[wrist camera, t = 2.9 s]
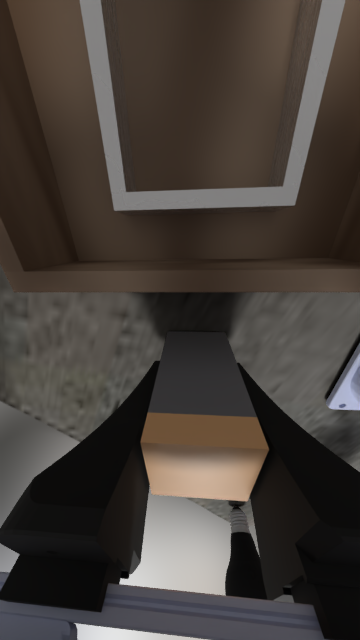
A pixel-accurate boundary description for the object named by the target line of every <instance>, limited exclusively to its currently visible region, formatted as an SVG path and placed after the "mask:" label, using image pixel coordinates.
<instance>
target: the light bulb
mask: <svg viewBox="0 0 360 640" xmlns="http://www.w3.org/2000/svg"><path fill="white" fill-rule="evenodd" d="M229 516H230V522H231V531H232V533H231V556H230V562H229V566H228V569H227V573H226V581H225V590H226V596H233V597H242V598H252V599H261V600H267V595H266V590H265V586H264V581H263V575H262V568H261V561H260V557H259V555H258V552H257V550H256V547H255V544H254V541H253V538H252V536H251V533H250V531H249V526H248V522H247V519H246V515H245V513H244V512H243V511H242V510H241V509H240V508H239V507H238V506H234V508H233V509H232V511H231V512H230V514H229Z"/></svg>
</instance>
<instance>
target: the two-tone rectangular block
mask: <svg viewBox="0 0 360 640" xmlns="http://www.w3.org/2000/svg"><path fill="white" fill-rule="evenodd" d="M140 443H141V447H142V452H143V456H144V461H145V465H146V470H147V474H148V479H149V483H150V488H151V492H152V494H154V495H167V496H180V497H194V498H208V499H221V500H235V501H248V498H249V496H250V493H251V491H252V489H253V486H254V484H255V482H256V479H257V477H258V474H259V472H260V470H261V467H262V465H263V463H264V460H265V458H266V455H267V453H268V451H269V448H268V445H267V442H266V440H265V437H264V434H263V432H262V429H261V426H260V424H259V421H258V418H257V416H256V413H255V410H254V408H253V405H252V402H251V400H250V397H249V394H248V392H247V389H246V386H245V384H244V381H243V378H242V376H241V373H240V370H239V368H238V365H237V362H236V360H235V357H234V354H233V352H232V349H231V346H230V344H229V341H228V338H227V336H226V333H225V332H183V331H168V332H167V336H166V340H165V344H164V348H163V352H162V356H161V360H160V364H159V368H158V372H157V376H156V381H155V385H154V389H153V393H152V397H151V401H150V405H149V409H148V413H147V417H146V421H145V425H144V430H143V434H142V438H141V442H140Z"/></svg>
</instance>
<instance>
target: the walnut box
mask: <svg viewBox="0 0 360 640" xmlns="http://www.w3.org/2000/svg"><path fill="white" fill-rule="evenodd" d="M300 3H301V0H115V4H116V13H117V22H118V31H119V41H120V50H121V59H122V68H123V77H124V86H125V95H126V104H127V113H128V122H129V132H130V141H131V150H132V159H133V168H134V177H135V186H136V192H143V191H171V190H199V189H227V188H256V187H268V183H269V177H270V172H271V166H272V160H273V155H274V149H275V144H276V138H277V132H278V127H279V121H280V116H281V110H282V104H283V99H284V93H285V87H286V82H287V76H288V71H289V65H290V59H291V54H292V48H293V42H294V37H295V31H296V26H297V20H298V14H299V9H300ZM0 264H1V266H2V268H3V270H4V272H5V275H6V277H7V279H8V281H9V283H10V285H11V287H12V289H13V291H14V292H360V0H345V4H344V8H343V12H342V16H341V20H340V24H339V29H338V33H337V37H336V41H335V45H334V49H333V53H332V57H331V61H330V65H329V69H328V73H327V77H326V81H325V85H324V89H323V93H322V97H321V101H320V106H319V110H318V114H317V118H316V122H315V126H314V130H313V134H312V138H311V142H310V146H309V150H308V154H307V158H306V162H305V166H304V170H303V174H302V178H301V183H300V187H299V191H298V195H297V199H296V203H295V206H291V207H288V208H285V209H282V210H279V211H269V212H232V213H196V214H159V215H124V214H122V213H119V212H116V211H114V207H113V200H112V194H111V188H110V182H109V176H108V170H107V164H106V158H105V152H104V146H103V140H102V134H101V128H100V122H99V116H98V110H97V103H96V97H95V91H94V85H93V79H92V73H91V67H90V61H89V55H88V49H87V43H86V37H85V31H84V25H83V19H82V13H81V6H80V0H0Z"/></svg>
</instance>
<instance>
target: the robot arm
mask: <svg viewBox="0 0 360 640" xmlns="http://www.w3.org/2000/svg"><path fill="white" fill-rule="evenodd" d="M159 364H160V361H155V362H154V363H153V365H152V366H151V368H150V369H149V371H148V372H147V374H146V375H145V376H144V378H143V379H142V380H141V382H140V383H139V384H138V386H137V387H136V388H135V389H134V391H133V392H132V393H131V394H130V395H129V396H128V398H127V399H126V400H125V401H124V402H123V403H122V404H121V405H120V407H119V408H118V409H117V410H116V411H115V412H114V413H113V414H112V415H111V416H110V417H109V418H108V419H106V420H105V421H104V422H103V423H102V424H101V425H100V426H99V427H98V428H97V429H96V430H95V431H93V432H92V433H91V434H90V435H89V436H88V437H86V438H85V439H84V440H83V441H82V442H80V443H79V444H78V445H77V446H76V447H74V448H73V449H72V450H71V451H69V452H68V453H67V454H66V455H64V456H63V457H62V458H60V459H59V460H57V461H56V462H55V463H54V464H52V465H51V466H49V467H48V468H47V469H45V470H44V471H43V472H41V473H40V474H39V475H37V476H36V477H35V478H34V479H33V480H32V482H31V483H30V484H29V486H28V487H27V488H26V490H25V491H24V493H23V495H22V496H21V497H20V499H19V500H18V502H17V503H16V505H15V506H14V508H13V510H12V511H11V513H10V514H9V516H8V517H7V519H6V520H5V522H4V523H3V525H2V527H1V528H0V543H1V544H2V545H4V546H6V547H8V548H10V549H11V550H13V551H15V552H17V553H19V554H20V555H19V557H18V559H17V561H16V563H15V565H14V566H13V569H12V570H11V572H10V573H8V572H0V640H77V628H76V625H75V624H74V623H79V624H87V625H95V626H103V627H112V628H120V629H128V630H136V631H144V632H152V633H160V634H168V635H177V636H185V637H193V638H201V639H210V640H360V472H359V471H357V470H356V469H354V468H353V467H352V466H350V465H349V464H348V463H346V462H345V461H343V460H342V459H341V458H339V457H338V456H337V455H335V454H334V453H333V452H331V451H330V450H329V449H327V448H326V447H325V446H324V445H322V444H321V443H320V442H319V441H317V440H316V439H315V438H314V437H312V436H311V435H310V434H309V433H307V432H306V431H305V430H304V429H302V428H301V427H300V426H299V425H298V424H297V423H296V422H294V421H293V420H292V419H291V418H290V417H289V416H288V415H287V414H285V413H284V412H283V411H282V410H281V409H280V408H279V407H278V406H277V405H276V404H275V403H274V402H273V401H272V400H271V399H270V398H269V397H268V396H267V395H266V393H265V392H264V391H263V390H262V389H261V388H260V387H259V386H258V385H257V384H256V382H255V381H254V380H253V379H252V378H251V377H250V375H249V374H248V373H247V372H246V371H245V369H244V368H243V367H242V366H241V365H240V363H237V365H238V368H239V370H240V373H241V376H242V378H243V381H244V384H245V386H246V389H247V392H248V394H249V397H250V400H251V402H252V405H253V408H254V410H255V413H256V416H257V418H258V421H259V424H260V426H261V429H262V432H263V434H264V437H265V440H266V442H267V445H268V448H269V451H268V453H267V455H266V458H265V460H264V463H263V465H262V467H261V470H260V472H259V474H258V477H257V479H256V482H255V484H254V486H253V489H252V491H251V493H250V499H251V505H252V511H253V517H254V523H255V529H256V535H257V542H258V548H259V554H260V561H261V568H262V575H263V581H264V586H265V590H266V595H267V600H261V599H252V598H242V597H233V596H222V595H214V594H205V593H195V592H186V591H177V590H167V589H158V588H148V587H139V586H129V585H120V584H119V582H120V578H124V579H128V578H129V574H132V573H133V572H134V571H135V569H136V568H137V567H138V565H139V564H140V561H141V552H142V543H143V534H144V526H145V517H146V509H147V500H148V493H149V485H150V483H149V479H148V474H147V470H146V465H145V461H144V456H143V452H142V447H141V443H140V442H141V438H142V434H143V430H144V425H145V421H146V417H147V413H148V409H149V405H150V401H151V397H152V393H153V389H154V385H155V381H156V376H157V372H158V368H159ZM326 404H327V406H328V407H329V408H331V409H342V410H360V343H359V345H358V347H357V348H356V350H355V352H354V354H353V355H352V357H351V359H350V361H349V362H348V364H347V366H346V368H345V369H344V371H343V373H342V375H341V376H340V378H339V380H338V382H337V383H336V385H335V387H334V389H333V390H332V392H331V394H330V396H329V397H328V399H327V401H326Z"/></svg>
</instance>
